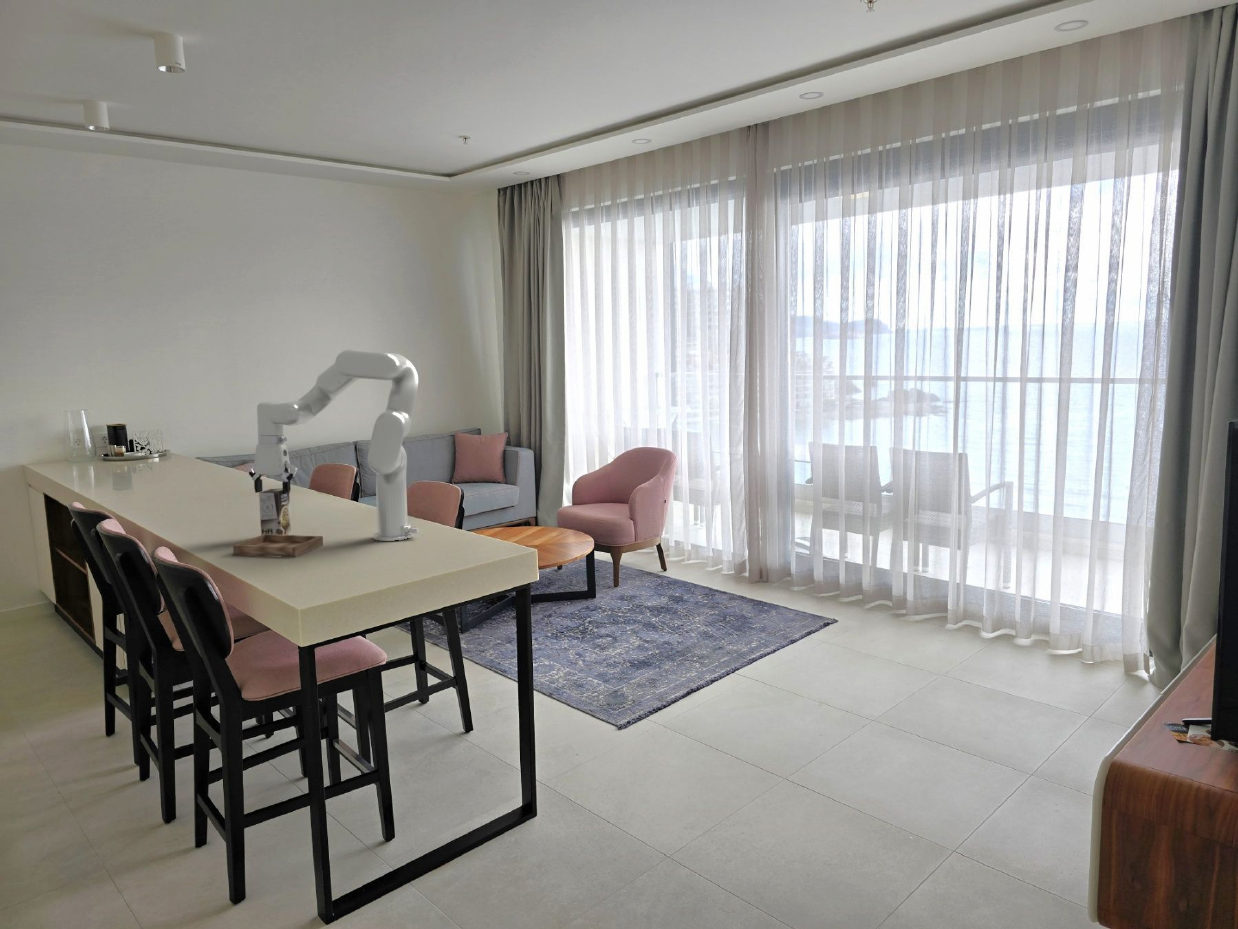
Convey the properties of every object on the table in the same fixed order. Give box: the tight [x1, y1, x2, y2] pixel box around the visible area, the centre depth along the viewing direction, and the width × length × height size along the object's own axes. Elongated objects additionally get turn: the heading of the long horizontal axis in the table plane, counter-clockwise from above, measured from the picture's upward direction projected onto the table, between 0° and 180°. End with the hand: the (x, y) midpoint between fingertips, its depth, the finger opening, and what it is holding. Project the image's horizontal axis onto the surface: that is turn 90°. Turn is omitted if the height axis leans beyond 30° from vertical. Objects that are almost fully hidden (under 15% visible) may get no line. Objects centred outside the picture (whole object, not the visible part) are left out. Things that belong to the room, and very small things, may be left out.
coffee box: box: [258, 487, 293, 536], centre depth 265 cm, size 9×6×16 cm
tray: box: [232, 534, 324, 558], centre depth 250 cm, size 20×16×3 cm
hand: (272, 492), depth 264 cm, fingers open, 9 cm apart
